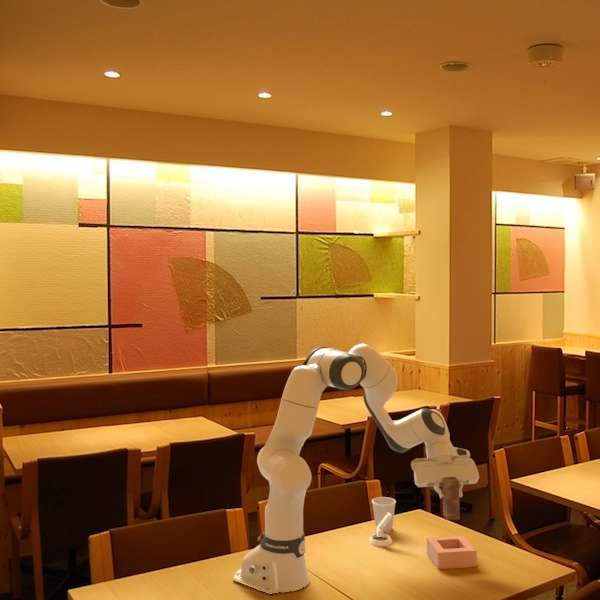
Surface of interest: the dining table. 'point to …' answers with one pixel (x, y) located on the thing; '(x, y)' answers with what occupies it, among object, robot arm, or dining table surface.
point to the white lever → (381, 533)
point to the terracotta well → (451, 552)
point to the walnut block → (451, 498)
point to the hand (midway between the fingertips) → (451, 497)
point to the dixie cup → (383, 511)
